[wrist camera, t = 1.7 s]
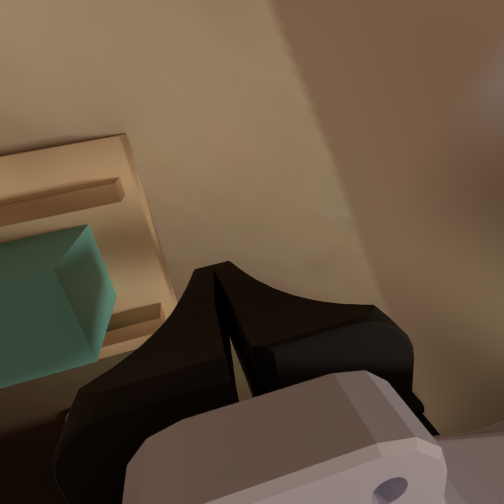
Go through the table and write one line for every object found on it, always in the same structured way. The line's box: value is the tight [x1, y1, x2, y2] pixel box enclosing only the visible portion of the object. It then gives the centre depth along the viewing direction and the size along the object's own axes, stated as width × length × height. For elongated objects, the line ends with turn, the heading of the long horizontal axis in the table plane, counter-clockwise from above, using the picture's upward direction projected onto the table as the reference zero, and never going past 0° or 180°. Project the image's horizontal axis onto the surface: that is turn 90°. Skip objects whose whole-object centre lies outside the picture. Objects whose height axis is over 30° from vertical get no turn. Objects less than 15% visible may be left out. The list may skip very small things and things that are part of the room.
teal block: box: [0, 224, 117, 388], centre depth 13 cm, size 4×5×5 cm
